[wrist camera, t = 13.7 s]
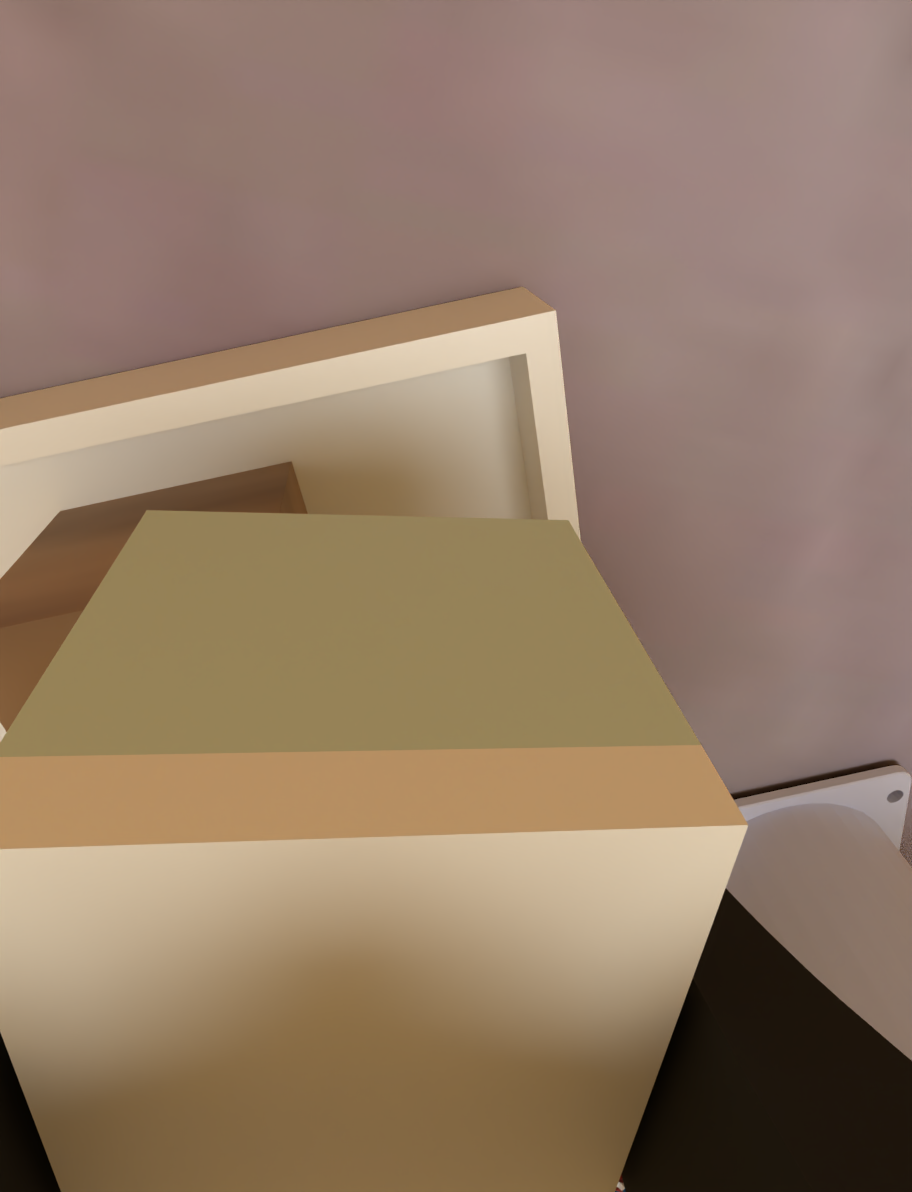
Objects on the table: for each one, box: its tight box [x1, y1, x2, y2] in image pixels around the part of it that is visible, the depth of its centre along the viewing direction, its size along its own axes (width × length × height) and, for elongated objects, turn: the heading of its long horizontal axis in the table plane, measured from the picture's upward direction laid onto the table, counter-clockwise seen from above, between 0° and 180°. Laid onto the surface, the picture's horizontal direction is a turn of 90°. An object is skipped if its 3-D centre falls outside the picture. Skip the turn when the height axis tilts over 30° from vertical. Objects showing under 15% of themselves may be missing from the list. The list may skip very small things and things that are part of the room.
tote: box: [0, 287, 581, 742], centre depth 18 cm, size 14×16×3 cm
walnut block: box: [0, 461, 308, 732], centre depth 16 cm, size 9×5×5 cm, turn 11°
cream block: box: [0, 510, 748, 1192], centre depth 8 cm, size 5×7×5 cm
